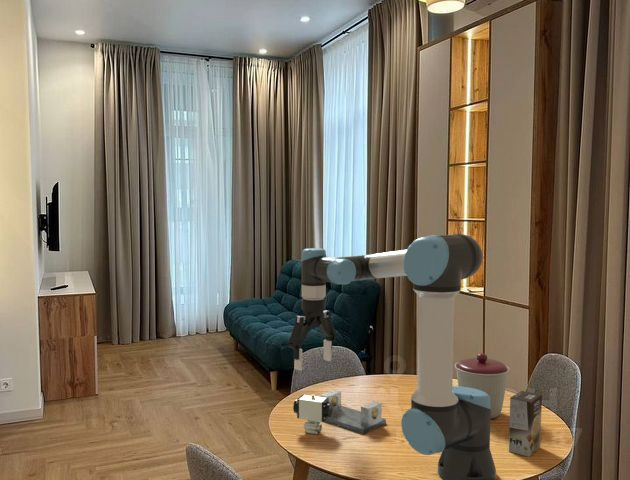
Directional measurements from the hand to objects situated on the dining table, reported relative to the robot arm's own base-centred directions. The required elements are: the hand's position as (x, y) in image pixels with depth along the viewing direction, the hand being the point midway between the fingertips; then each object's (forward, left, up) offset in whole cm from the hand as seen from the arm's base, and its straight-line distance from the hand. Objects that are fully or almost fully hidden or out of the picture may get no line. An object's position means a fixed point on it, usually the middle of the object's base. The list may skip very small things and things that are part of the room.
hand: (313, 365), depth 188 cm
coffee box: (-55, -32, -22) cm, 67 cm away
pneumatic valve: (0, 0, -22) cm, 22 cm away
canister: (-32, -50, -22) cm, 63 cm away
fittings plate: (-3, -15, -22) cm, 26 cm away
